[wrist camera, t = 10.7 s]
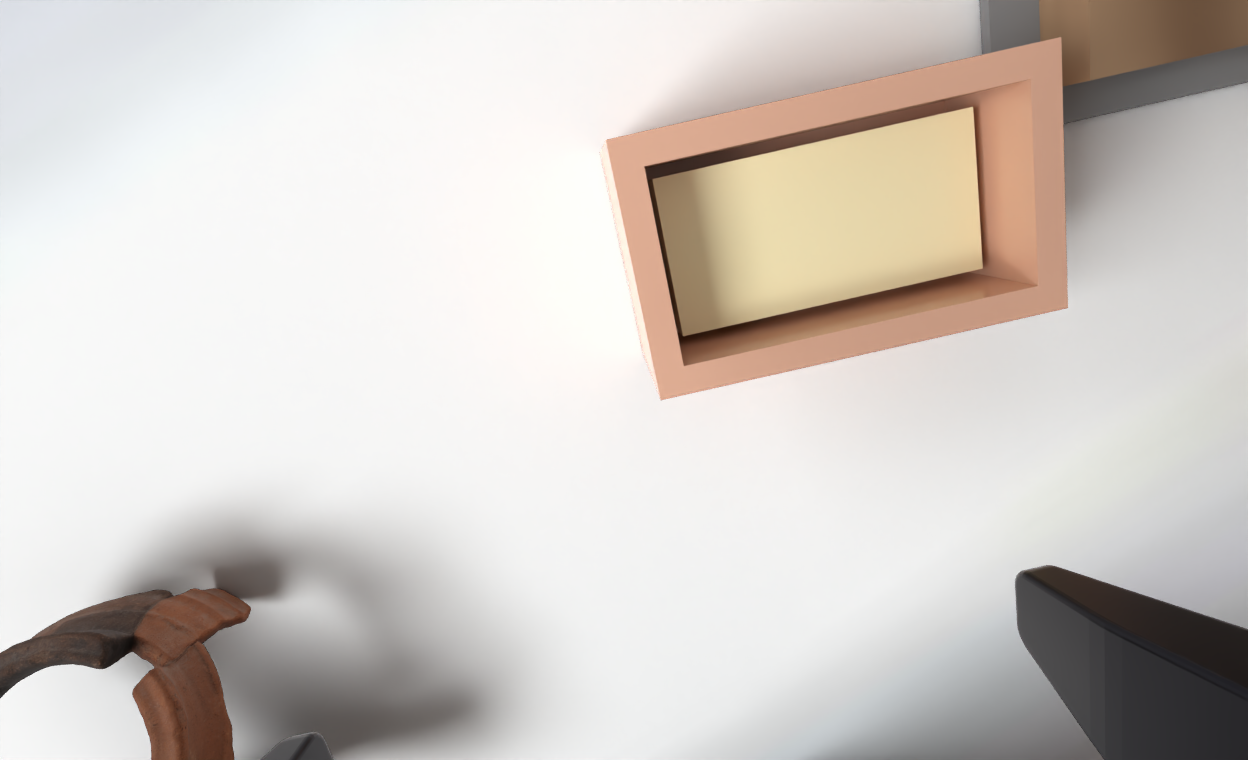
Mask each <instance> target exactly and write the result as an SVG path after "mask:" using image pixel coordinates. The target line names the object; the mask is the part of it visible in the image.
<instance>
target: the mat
mask: <svg viewBox="0 0 1248 760" xmlns="http://www.w3.org/2000/svg"><path fill="white" fill-rule="evenodd" d="M979 1H980V19H981V37H982V55H983V54H988V53H992V52H997V51H1001V50H1006V49H1010V48H1014V47H1019V46H1023V45H1028V44H1032V43H1036V42H1040V15H1039V0H979ZM1246 82H1248V45H1245V46H1241V47H1236V48H1232V49H1227V50H1223V51H1218V52H1214V53H1210V54H1205V55H1201V56H1196V57H1192V58H1187V59H1183V60H1179V61H1174V62H1170V63H1165V64H1161V65H1156V66H1152V67H1148V68H1143V69H1139V70H1134V71H1130V72H1125V73H1121V74H1117V75H1112V76H1108V77H1103V78H1099V79H1095V80H1090V81H1086V82H1081V83H1077V84H1072V85H1068V86H1063V124H1065V123H1069V122H1074V121H1078V120H1082V119H1087V118H1091V117H1096V116H1100V115H1105V114H1109V113H1113V112H1118V111H1122V110H1127V109H1131V108H1135V107H1140V106H1144V105H1149V104H1153V103H1158V102H1162V101H1166V100H1171V99H1175V98H1180V97H1184V96H1188V95H1193V94H1197V93H1202V92H1206V91H1211V90H1215V89H1219V88H1224V87H1228V86H1233V85H1237V84H1242V83H1246Z"/></svg>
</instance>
